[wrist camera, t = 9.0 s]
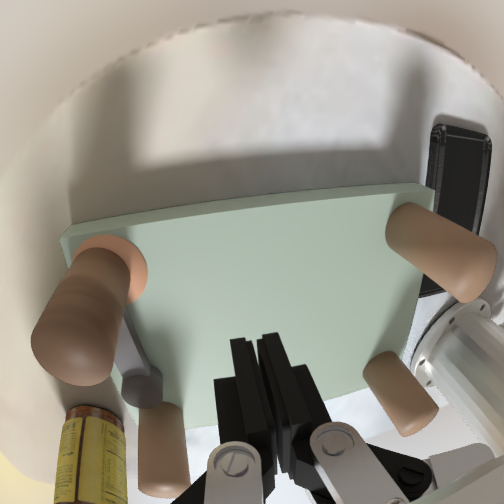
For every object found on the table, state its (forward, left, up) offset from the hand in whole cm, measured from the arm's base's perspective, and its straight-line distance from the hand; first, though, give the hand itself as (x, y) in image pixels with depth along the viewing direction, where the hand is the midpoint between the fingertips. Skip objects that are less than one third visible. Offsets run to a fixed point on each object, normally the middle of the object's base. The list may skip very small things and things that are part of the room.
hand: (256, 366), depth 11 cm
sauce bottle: (+14, +16, -11) cm, 24 cm away
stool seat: (-3, +6, -11) cm, 13 cm away
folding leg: (+7, +3, -8) cm, 11 cm away
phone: (-20, 0, -11) cm, 23 cm away
